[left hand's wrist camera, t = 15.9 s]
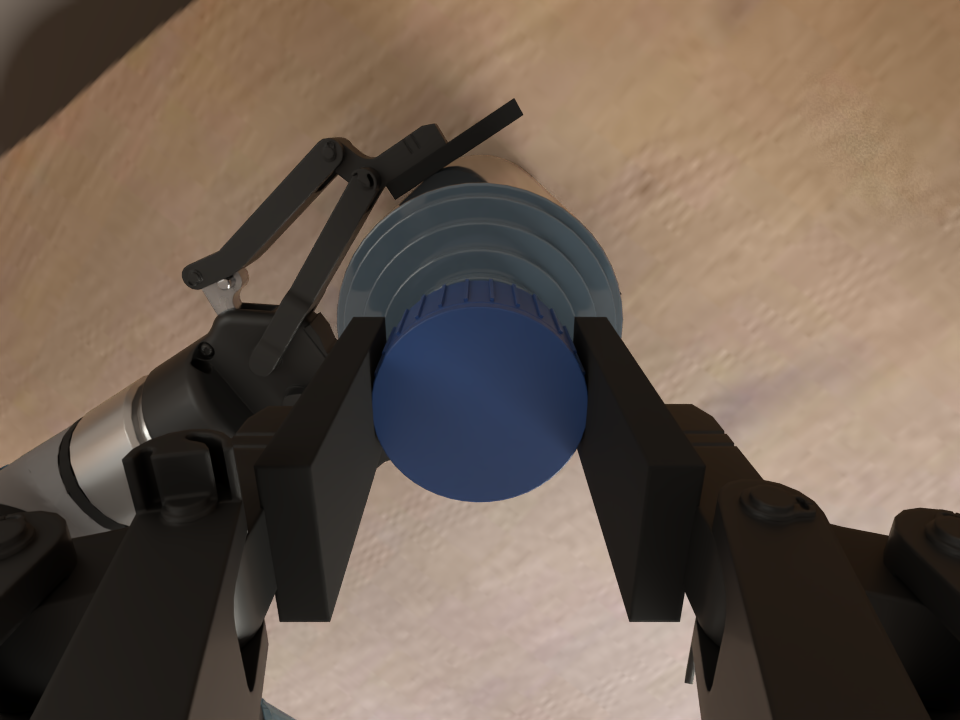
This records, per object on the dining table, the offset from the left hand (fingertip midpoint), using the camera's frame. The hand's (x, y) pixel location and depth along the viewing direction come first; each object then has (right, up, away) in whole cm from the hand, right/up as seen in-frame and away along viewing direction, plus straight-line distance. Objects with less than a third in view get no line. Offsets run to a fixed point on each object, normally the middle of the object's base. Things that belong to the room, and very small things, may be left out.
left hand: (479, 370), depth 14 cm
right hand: (+4, +8, +13) cm, 15 cm away
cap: (0, -1, -2) cm, 2 cm away
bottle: (0, +8, +19) cm, 21 cm away
